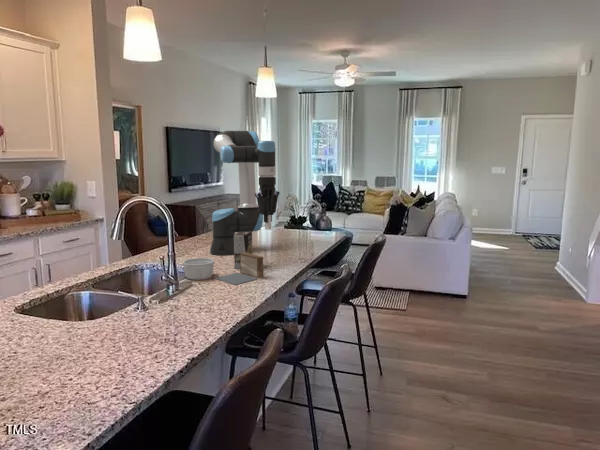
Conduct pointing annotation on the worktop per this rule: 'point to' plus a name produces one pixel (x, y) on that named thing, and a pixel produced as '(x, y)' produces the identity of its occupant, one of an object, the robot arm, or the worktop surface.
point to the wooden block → (251, 265)
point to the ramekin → (198, 268)
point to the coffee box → (241, 246)
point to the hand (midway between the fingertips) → (268, 229)
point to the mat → (236, 278)
